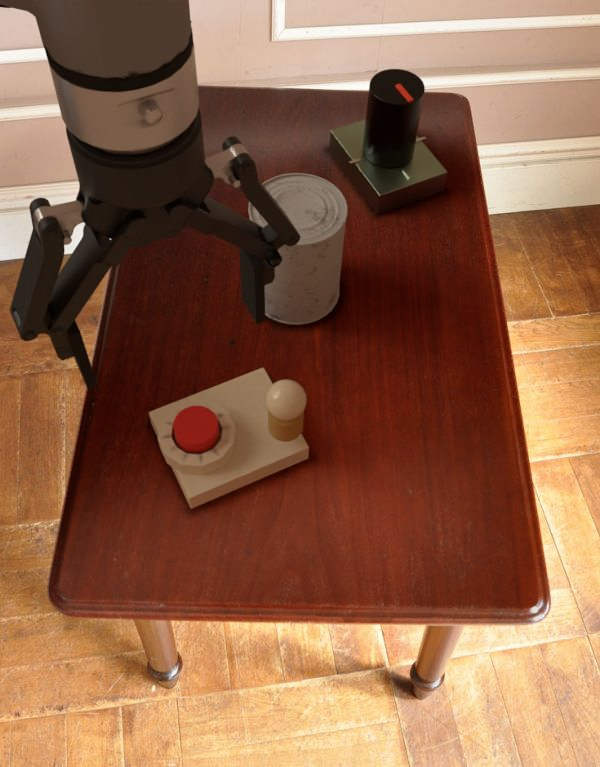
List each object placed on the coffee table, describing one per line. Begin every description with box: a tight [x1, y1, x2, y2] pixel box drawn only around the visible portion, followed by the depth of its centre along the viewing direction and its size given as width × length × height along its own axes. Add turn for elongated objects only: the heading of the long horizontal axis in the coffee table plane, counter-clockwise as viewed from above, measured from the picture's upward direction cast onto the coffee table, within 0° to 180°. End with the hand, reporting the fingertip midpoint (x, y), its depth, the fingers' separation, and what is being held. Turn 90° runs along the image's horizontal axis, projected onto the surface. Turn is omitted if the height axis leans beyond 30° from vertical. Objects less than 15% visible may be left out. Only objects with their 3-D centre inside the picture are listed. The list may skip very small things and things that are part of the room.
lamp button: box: [173, 406, 219, 453], centre depth 78 cm, size 4×4×2 cm
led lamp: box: [265, 378, 308, 442], centre depth 76 cm, size 4×4×6 cm
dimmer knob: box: [363, 68, 426, 168], centre depth 97 cm, size 6×6×9 cm
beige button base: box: [148, 367, 310, 509], centre depth 80 cm, size 10×12×4 cm
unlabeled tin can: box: [247, 172, 349, 326], centre depth 87 cm, size 10×10×12 cm
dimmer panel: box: [328, 118, 448, 215], centre depth 102 cm, size 12×10×3 cm
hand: (172, 341), depth 65 cm, fingers open, 13 cm apart
